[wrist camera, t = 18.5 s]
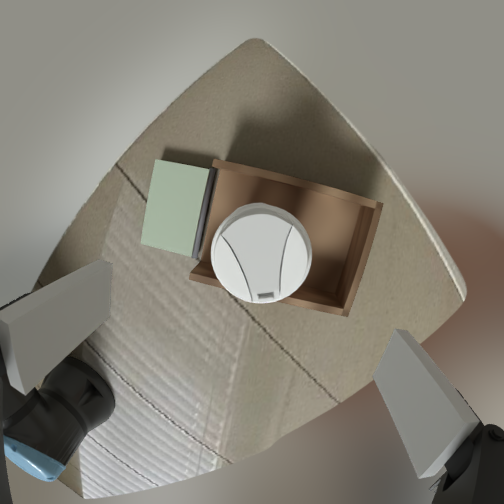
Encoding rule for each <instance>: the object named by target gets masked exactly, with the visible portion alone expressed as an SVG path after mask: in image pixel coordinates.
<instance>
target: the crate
mask: <svg viewBox="0 0 504 504" xmlns="http://www.w3.org/2000/svg"><path fill="white" fill-rule="evenodd" d="M212 166H213V167H216V168H219V169H220V173H219V177H218V182H217V186H216V190H215V195H214V199H213V204H212V209H211V213H210V218H209V223H208V227H207V232H206V237H205V242H204V247H203V252H202V257H201V261H200V262H199V263H198V265H197V266H196V267H195V268H194V269H193V270H192V271H191V272H190V276H189V280H193V281H196V282H200V283H204V284H208V285H212V286H216V287H220V288H223V289H226V288H225V287H224V286H223V285H222V284H221V283H220V281H219V279H218V278H217V276H216V274H215V272H214V269H213V266H212V261H211V246H212V241H213V238H214V235H215V233H216V231H217V229H218V228H219V226H220V225H221V223H222V222H223V221H224V220H225V219H226V218H227V217H228V216H230V215H231V214H232V213H233V212H234V211H235V210H236V209H237V208H239V207H242V206H244V205H247V204H252V203H265V204H268V205H271V206H275V207H279V208H281V209H283V210H285V211H287V212H289V213H290V214H292V215H293V216H294V217H295V218H296V219H297V220H299V222H300V223H301V224H302V225H303V227H304V228H305V230H306V232H307V234H308V236H309V239H310V242H311V247H312V261H311V266H310V269H309V273H308V275H307V277H306V279H305V280H304V282H303V283H302V284H301V286H300V287H299V288H298V289H297V290H296V291H294V292H293V293H292V294H290V295H289V296H287V297H285V298H283V299H281V300H278V301H277V302H281V303H286V304H290V305H295V306H299V307H303V308H308V309H313V310H317V311H322V312H327V313H331V314H336V315H341V316H346V317H348V315H349V312H350V309H351V307H352V304H353V301H354V298H355V296H356V293H357V290H358V287H359V284H360V281H361V278H362V275H363V272H364V269H365V266H366V263H367V260H368V256H369V253H370V250H371V247H372V243H373V240H374V236H375V233H376V229H377V226H378V222H379V218H380V215H381V211H382V207H383V203H381V202H378V201H374V200H371V199H368V198H365V197H362V196H359V195H356V194H352V193H349V192H346V191H342V190H339V189H336V188H332V187H329V186H325V185H322V184H318V183H315V182H311V181H307V180H303V179H300V178H296V177H292V176H288V175H284V174H280V173H276V172H272V171H268V170H264V169H259V168H255V167H251V166H246V165H242V164H237V163H232V162H228V161H223V160H218V159H214V160H213V164H212Z"/></svg>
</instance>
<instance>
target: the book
mask: <svg viewBox="0 0 504 504" xmlns="http://www.w3.org/2000/svg"><path fill="white" fill-rule="evenodd" d="M215 172H216V169H214V168H209V169H205V168H200V167H195V166H190V165H185V164H179V163H174V162H168V161H162V160H155V165H154V169H153V174H152V179H151V184H150V190H149V195H148V200H147V206H146V212H145V218H144V224H143V231H142V238H141V244H144V245H148V246H152V247H155V248H159V249H163V250H167V251H171V252H174V253H178V254H182V255H186V256H190V257H192V258H197V257H198V252H199V247H200V242H201V237H202V232H203V227H204V222H205V217H206V212H207V208H208V203H209V198H210V194H211V189H212V185H213V180H214V176H215Z"/></svg>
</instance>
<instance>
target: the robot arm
mask: <svg viewBox="0 0 504 504" xmlns="http://www.w3.org/2000/svg"><path fill="white" fill-rule="evenodd" d="M112 265H113V263H110V262H107V261H103V260H100V259H98V260H96V261H94V262H92V263H90V264H88V265H86V266H84V267H82V268H80V269H78V270H76V271H74V272H72V273H70V274H68V275H66V276H64V277H62V278H60V279H58V280H56V281H54V282H52V283H50V284H48V285H47V286H45V287H43V288H41V289H39V290H37V291H35V292H31V293H27V294H24V295H23V296H21V297H19V298H17V299H16V300H13V301H11V302H10V303H9V304H6V305H4V306H2V307H1V308H0V504H13V503H12V498H11V493H10V487H9V482H8V475H7V468H6V460H5V455H6V456H7V457H8V458H9V459H10V460H11V461H12V462H14V463H15V464H16V465H17V466H19V467H20V468H21V469H23V470H24V471H26V472H28V473H29V474H31V475H32V476H34V477H36V478H38V479H41V480H43V481H48V482H50V481H54V480H55V479H57V477H58V476H59V475H60V474H61V472H62V471H63V470H65V468H66V465H67V464H68V462H69V461H70V459H71V457H72V456H73V454H74V453H75V451H76V450H77V448H78V447H79V445H80V444H81V442H82V441H83V439H84V437H85V436H86V435H87V433H88V432H89V431H91V430H93V429H94V428H96V427H97V426H99V425H100V424H102V423H104V422H105V421H107V420H108V419H109V417H110V416H111V414H112V413H113V411H114V408H115V402H114V398H113V395H112V393H111V391H110V389H109V387H108V386H107V384H106V383H105V382H104V380H103V379H102V378H101V377H100V376H99V375H98V374H97V373H96V372H95V371H94V370H93V369H92V368H90V367H89V366H88V365H86V364H85V363H83V362H81V361H79V360H77V359H75V358H72V357H66V356H67V355H68V354H69V353H71V352H72V351H73V350H74V349H75V348H76V347H77V346H78V345H79V344H80V343H81V342H82V341H84V340H85V339H86V338H87V337H88V336H89V335H90V334H91V333H92V332H94V331H95V330H96V329H97V328H98V327H99V326H100V325H101V324H102V323H104V322H105V321H106V320H107V319H108V318H109V317H110V300H111V280H112ZM44 377H45V378H44ZM43 378H44V380H43V383H42V385H41V388H40V389H39V390H38V391H37V389H36V388H35V386H36V385H37V384H38V383H39V382H40V381H41V380H42V379H43ZM373 378H374V380H375V382H376V384H377V387H378V389H379V391H380V393H381V395H382V397H383V399H384V401H385V403H386V405H387V408H388V410H389V412H390V414H391V416H392V419H393V420H394V423H395V425H396V427H397V429H398V432H399V434H400V436H401V438H402V441H403V443H404V446H405V448H406V450H407V452H408V455H409V457H410V460H411V462H412V464H413V467H414V469H415V471H416V474H417V476H418V478H424V477H430V476H434V475H435V474H436V473H437V472H438V471H439V470H440V469H441V468H442V467H443V466H444V465H445V467H446V469H447V471H446V472H445V473H444V474H443V475H442V476H441V478H439V479H438V480H437V481H436V482H435V483H434V484H433V485H432V486H431V487H430V489H429V490H430V491H431V490H432V489H433V488H435V487H436V486H438V488H437V490H436V491H435V493H436V494H435V496H434V499H433V501H432V504H504V431H503V430H502V429H501V428H500V427H498V426H496V425H493V424H487V425H486V426H484V425H483V423H482V422H481V420H480V419H479V418H478V416H477V415H476V414H475V413H474V411H473V410H472V408H471V407H470V406H468V403H467V402H466V400H464V398H463V396H462V395H461V394H460V392H459V391H458V390H457V389H456V388H454V386H453V385H452V384H451V382H450V381H449V380H448V379H447V378H446V376H445V375H444V374H443V373H442V371H441V370H440V369H439V367H438V366H437V365H436V364H435V363H434V361H433V360H432V359H431V358H430V357H429V355H428V354H427V353H426V352H425V351H424V349H423V348H422V347H421V346H420V345H419V343H418V342H417V341H416V340H415V339H414V337H413V336H412V335H411V334H410V333H409V332H408V331H407V330H401V329H394V331H393V334H392V336H391V338H390V340H389V343H388V345H387V347H386V349H385V351H384V354H383V356H382V358H381V360H380V362H379V364H378V366H377V368H376V370H375V372H374V374H373Z"/></svg>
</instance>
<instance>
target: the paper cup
mask: <svg viewBox="0 0 504 504" xmlns="http://www.w3.org/2000/svg"><path fill="white" fill-rule="evenodd" d="M211 261H212V266H213V269H214V272H215V274H216V276H217V278H218V279H219V281H220V283H221V284H222V285H223V286H224V287H225V288H226V289H227V290H228V291H229V292H230V293H232V294H233V295H235V296H236V297H238V298H240V299H242V300H245V301H248V302H251V303H252V302H253V303H270V302H275V301H278V300H281V299H283V298H285V297H287V296H289V295H290V294H292V293H293V292H294V291H296V290H297V289H298V288H299V287H300V286H301V284H302V283H303V282H304V280H305V279H306V277H307V275H308V273H309V269H310V266H311V261H312V247H311V242H310V239H309V236H308V234H307V232H306V230H305V228H304V227H303V225H302V224H301V223H300V222H299V220H297V219H296V218H295V217H294V216H293V215H292V214H290V213H289V212H287V211H285V210H283V209H281V208H279V207H275V206H271V205H268V204H265V203H252V204H247V205H244V206H242V207H239V208H237V209H236V210H235V211H234V212H233V213H232V214H231V215H230V216H228V217H227V218H226V219H225V220H224V221H223V222H222V223H221V225H220V226H219V228H218V229H217V231H216V233H215V235H214V238H213V241H212V246H211Z"/></svg>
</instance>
